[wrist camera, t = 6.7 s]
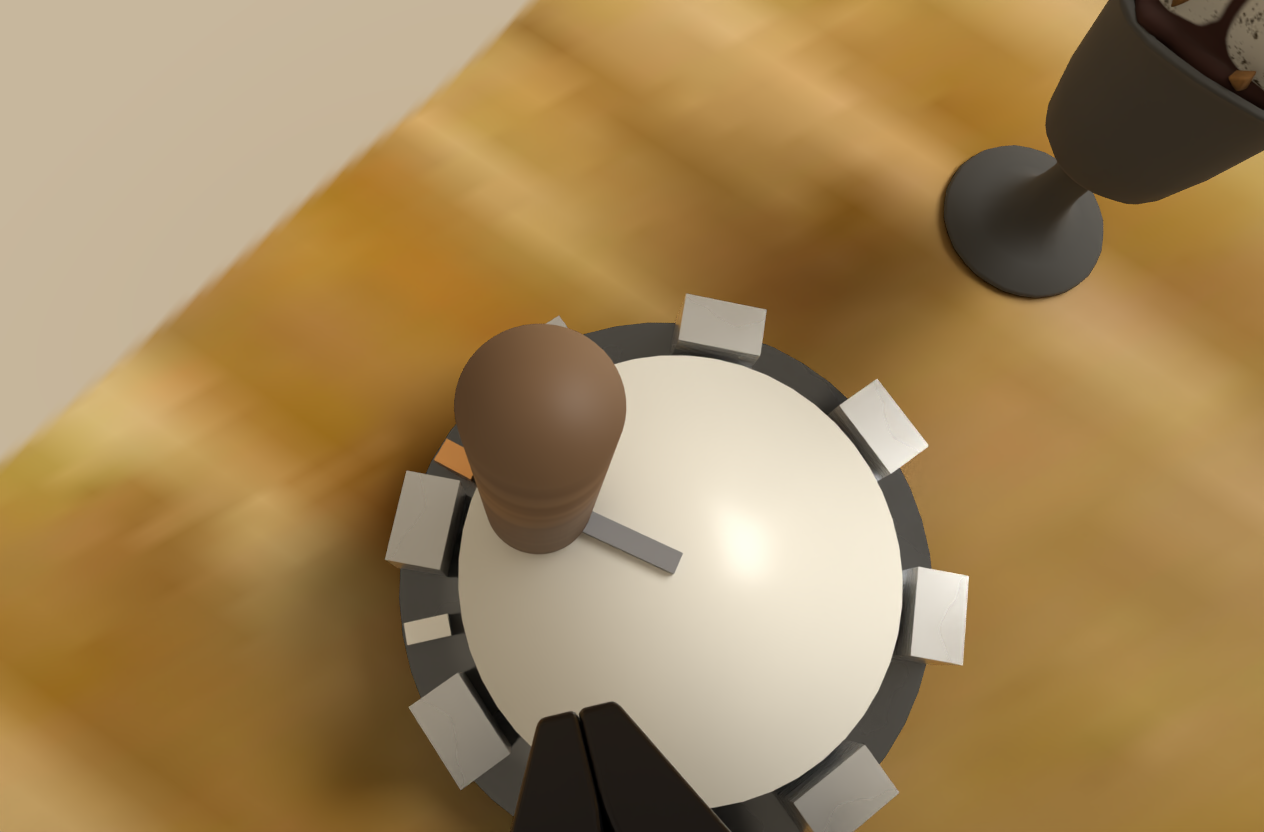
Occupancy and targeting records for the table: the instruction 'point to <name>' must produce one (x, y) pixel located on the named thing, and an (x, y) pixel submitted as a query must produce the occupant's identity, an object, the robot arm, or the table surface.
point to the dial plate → (485, 740)
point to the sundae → (1114, 139)
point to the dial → (672, 556)
